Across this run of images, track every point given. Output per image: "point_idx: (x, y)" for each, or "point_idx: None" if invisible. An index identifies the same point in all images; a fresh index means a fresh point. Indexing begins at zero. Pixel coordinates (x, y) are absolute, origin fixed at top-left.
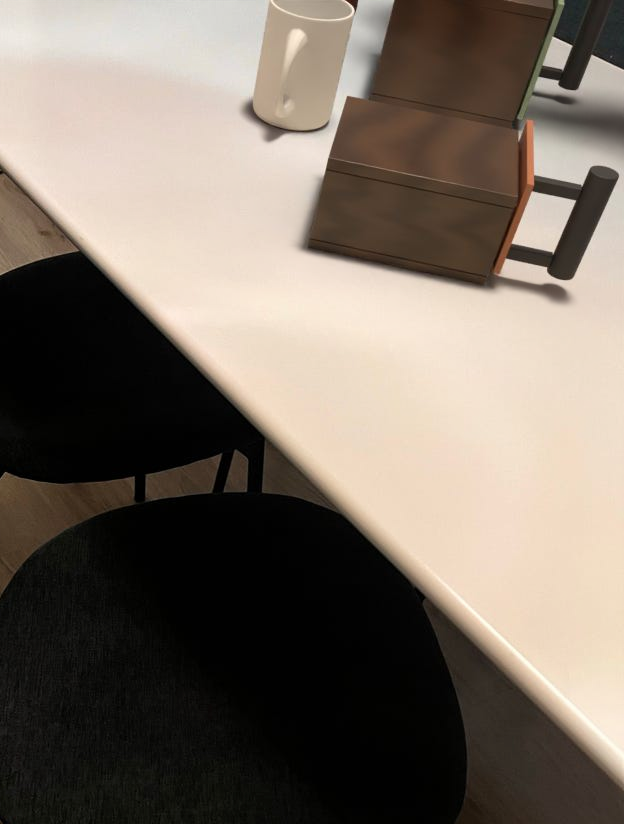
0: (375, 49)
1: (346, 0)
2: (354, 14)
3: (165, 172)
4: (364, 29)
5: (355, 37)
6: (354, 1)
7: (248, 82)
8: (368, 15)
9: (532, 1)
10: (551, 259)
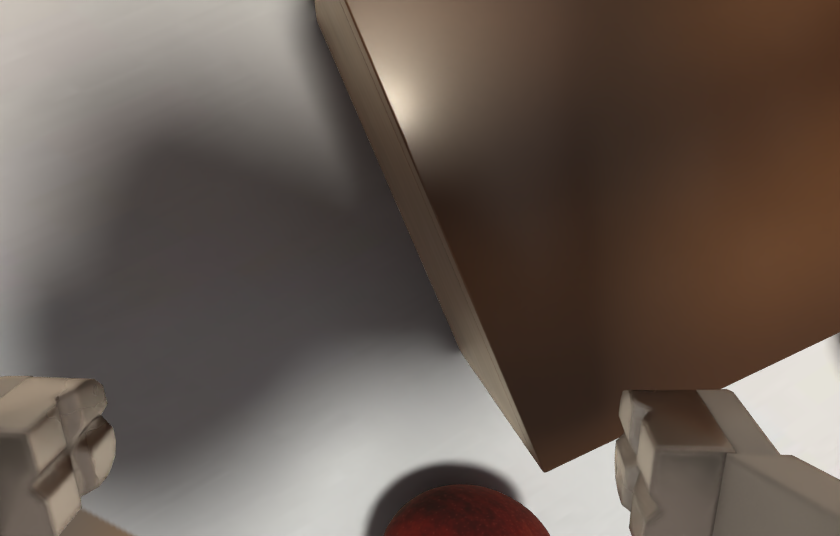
0: (419, 388)
1: (512, 515)
2: (433, 493)
3: None
4: (315, 481)
5: (389, 463)
6: (468, 508)
7: (825, 452)
8: (207, 533)
9: None
10: None
